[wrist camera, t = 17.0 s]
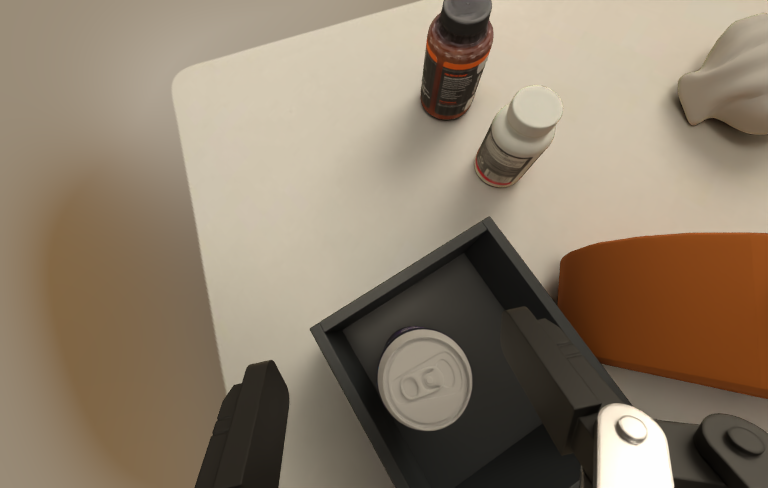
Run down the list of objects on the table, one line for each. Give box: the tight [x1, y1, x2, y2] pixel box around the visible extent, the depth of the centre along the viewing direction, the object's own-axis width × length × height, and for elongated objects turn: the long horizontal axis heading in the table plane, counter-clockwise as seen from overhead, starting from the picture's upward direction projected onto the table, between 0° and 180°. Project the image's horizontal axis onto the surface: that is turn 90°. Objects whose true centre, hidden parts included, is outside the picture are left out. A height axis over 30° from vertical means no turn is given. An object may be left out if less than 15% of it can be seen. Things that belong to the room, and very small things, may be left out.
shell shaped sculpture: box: [678, 13, 768, 135], centre depth 33 cm, size 13×13×6 cm
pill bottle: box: [474, 85, 563, 187], centre depth 30 cm, size 5×5×10 cm
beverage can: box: [376, 326, 473, 431], centre depth 23 cm, size 6×6×12 cm
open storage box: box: [310, 216, 633, 488], centre depth 25 cm, size 16×18×9 cm
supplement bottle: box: [421, 0, 493, 120], centre depth 31 cm, size 6×6×11 cm
